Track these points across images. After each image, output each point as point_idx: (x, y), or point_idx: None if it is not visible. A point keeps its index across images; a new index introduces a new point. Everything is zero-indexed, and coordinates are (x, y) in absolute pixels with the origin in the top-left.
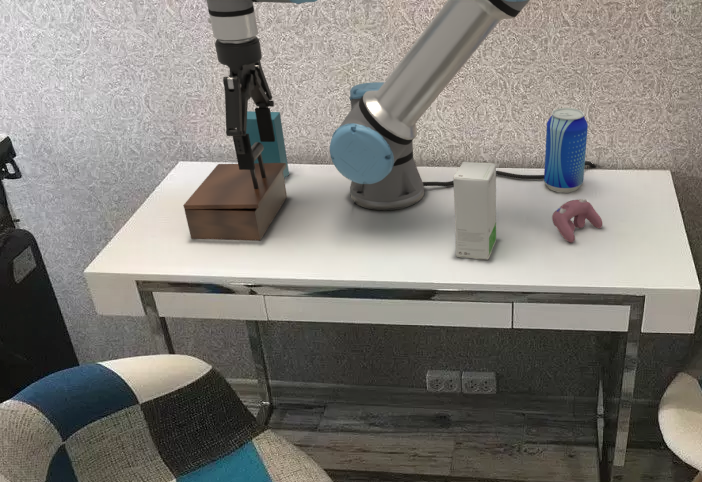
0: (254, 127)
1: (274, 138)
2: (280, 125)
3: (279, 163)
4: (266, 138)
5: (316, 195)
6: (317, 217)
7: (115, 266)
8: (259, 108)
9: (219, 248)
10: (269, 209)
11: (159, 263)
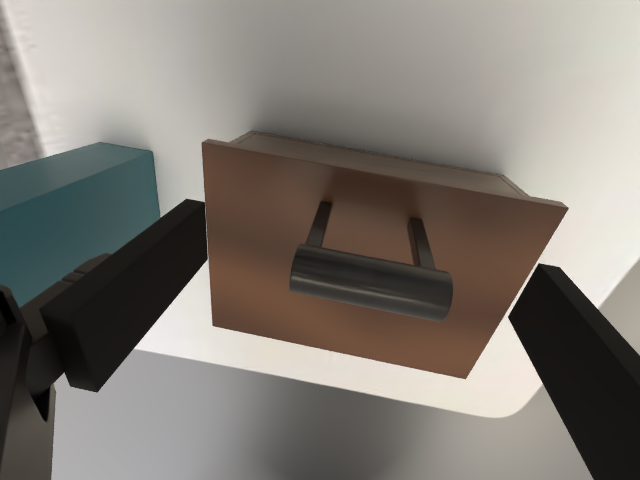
0: (32, 280)
1: (186, 204)
2: None
3: (208, 164)
4: (198, 241)
5: (220, 41)
6: (374, 18)
7: (508, 402)
8: (76, 368)
9: None
10: (404, 169)
11: (524, 350)
